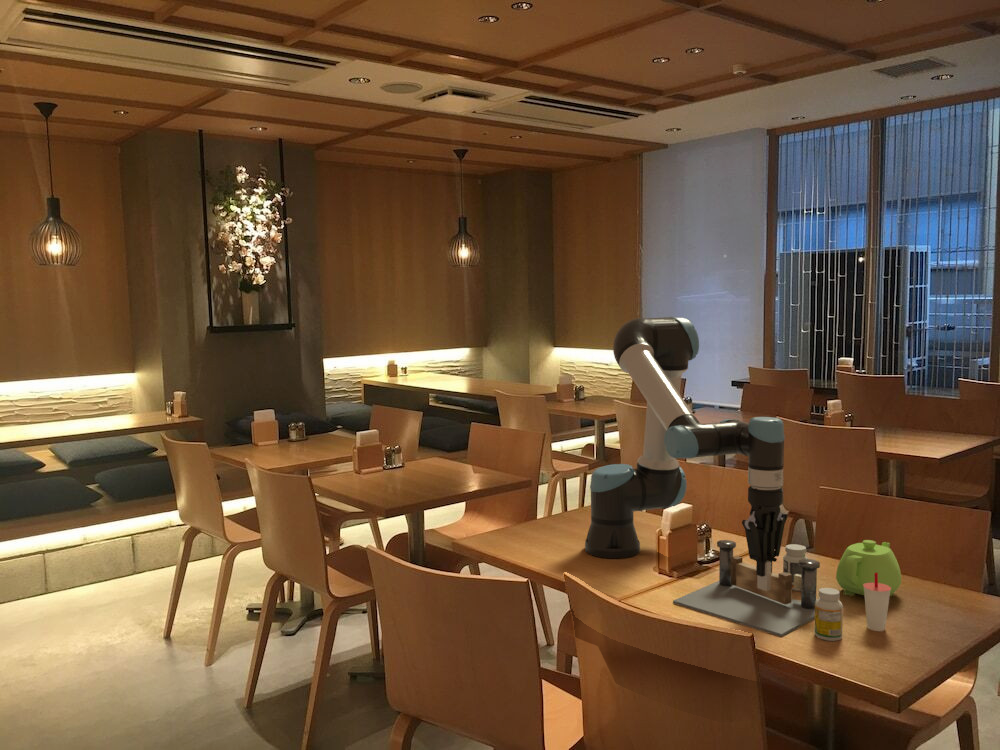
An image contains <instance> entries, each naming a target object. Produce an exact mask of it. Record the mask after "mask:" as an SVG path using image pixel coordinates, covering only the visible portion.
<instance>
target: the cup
mask: <svg viewBox="0 0 1000 750" xmlns="http://www.w3.org/2000/svg"><path fill="white" fill-rule="evenodd" d="M874 574H875V583H865V584H863V586H864V595H863V596H864V606H865V618H866V628H867V629H869V630H871V631H875V632H884V631H885V630H886V624H887V619H888V610H889V604H890V603H889V602H890V597H891V596H890V590H891V587H890V586H888V585H885V584H881V583H878V573H874Z"/></svg>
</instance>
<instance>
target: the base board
mask: <svg viewBox="0 0 1000 750" xmlns="http://www.w3.org/2000/svg"><path fill="white" fill-rule="evenodd" d="M672 604H674V605H675V604H676V605H678V606H680V607H684V608H688V609H690V610H693V611H694V610H695V611H697V612H700V613H703V614H707V615H711V616H713V617H717V618H719V619H723V620H726V621H730V622H732V623H735V624H739V625H741V626H745V627H749V628H752V629H755V630H759V631H761V632H764V633H768V634H771V635H774V636H778V637H780V638H781V637H784V636H786V635H788V634H789V633H792V632H793V631H795V630H796V629H797V630H798V628H800V627H802V626H803V625H805V624H807V623H809V622H811V621H813V620H815V609H805V608H802V607H801V600H799V599H795V598H792V601H791V603H789V604H786V605H785V604H783V603H780V602H777V601H775V600H772V599H769V598H767V597H764V596H761V595H759V594H756V593H753V592H751V591H748V590H745V589H743V588H740V587H737V586H735V585H732V586H722V585H720V584H719V580H718V581H715V582H713V583H711V584H708V585H706V586H704V587H701V588H699V589H697V590H694V591H692V592H690V593H688V594H685V595H682V596H680V597H678V598H676V599H674V600H672Z"/></svg>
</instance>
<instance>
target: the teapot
mask: <svg viewBox="0 0 1000 750" xmlns="http://www.w3.org/2000/svg"><path fill="white" fill-rule="evenodd" d="M890 545H891V542H887V541H884V542H882V543H881V545H880V544H877V541H875V540H872V539H871V540H870V539H864V540H862V542H857V543H853V544H851V545H848V547H847V548H846V549H845V550H844V552H843V554H842V556H841V558H840V560H839V562H838V565H837V569H836V575H835V579H836V581H837V583H838V585H839V587H840V588H841V589H842V590H844V591H843V593H844V594H843V593H842V594H843V595H845V594H846V595H845V596H850V595H852V596H855V595H856V594H858V595H862V596H865V595H864V586H863V584H865V583H875V574H874V573H878V583H881V584H885V585H888V586H890V587H891V590H890V597H892V596H893V595H894V593H895V592H897V590H898V589H899V587H900V586H901V584H902V573H901V569H900V565H899V563H898V560H897V557H896V556H895V553H894V552H893V550H892V548H891V546H890Z"/></svg>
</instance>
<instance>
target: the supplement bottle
mask: <svg viewBox="0 0 1000 750" xmlns="http://www.w3.org/2000/svg"><path fill="white" fill-rule="evenodd" d="M818 596H819V598H816V601H815V618H814V635H815V636H816V637H817V638H818V639H821V640H822V641H827V642H837V641H840V640H842V637H843V616H844V613H843V612H844V606H843V603H842V602H841V600H840V599H841V598H840V597H841V595H840V591H839V590H838V589H835V588H831V587H821V588H819V589H818Z"/></svg>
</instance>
